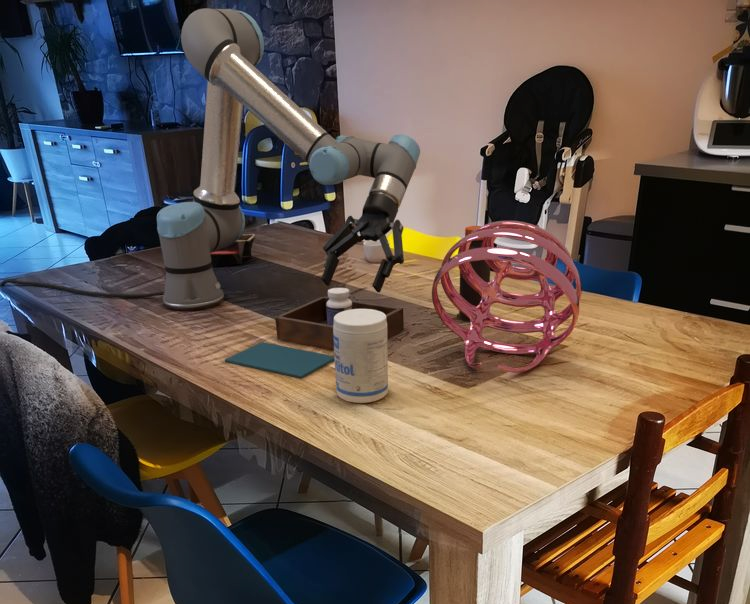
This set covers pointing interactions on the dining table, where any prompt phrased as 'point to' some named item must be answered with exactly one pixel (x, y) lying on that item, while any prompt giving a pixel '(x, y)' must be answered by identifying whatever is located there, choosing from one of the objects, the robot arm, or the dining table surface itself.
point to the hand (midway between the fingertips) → (349, 285)
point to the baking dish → (233, 251)
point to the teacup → (374, 251)
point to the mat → (281, 359)
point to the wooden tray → (307, 331)
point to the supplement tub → (361, 355)
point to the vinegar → (480, 269)
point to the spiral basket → (492, 293)
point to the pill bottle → (337, 303)
